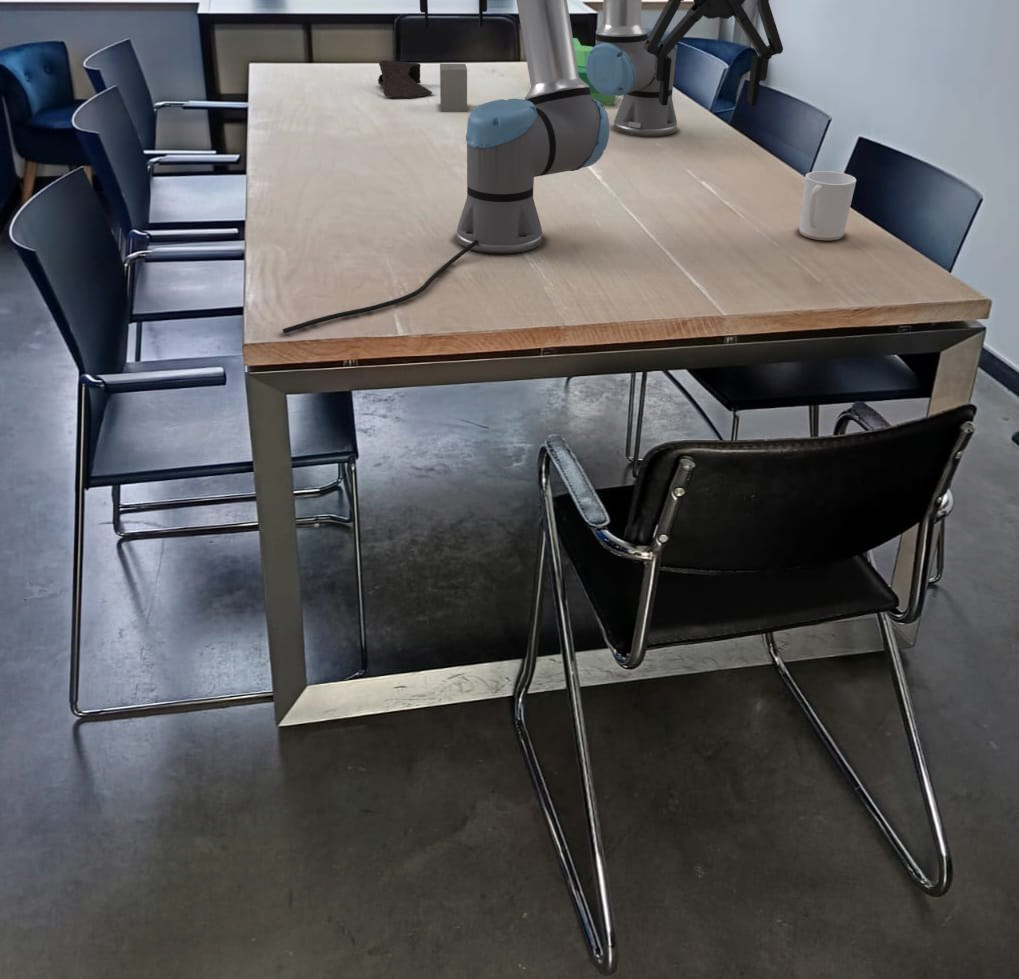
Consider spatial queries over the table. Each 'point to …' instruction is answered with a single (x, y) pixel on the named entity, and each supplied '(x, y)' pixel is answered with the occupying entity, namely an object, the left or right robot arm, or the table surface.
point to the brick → (453, 87)
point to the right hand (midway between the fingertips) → (453, 26)
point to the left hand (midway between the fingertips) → (707, 103)
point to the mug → (826, 204)
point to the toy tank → (581, 64)
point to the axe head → (401, 79)
